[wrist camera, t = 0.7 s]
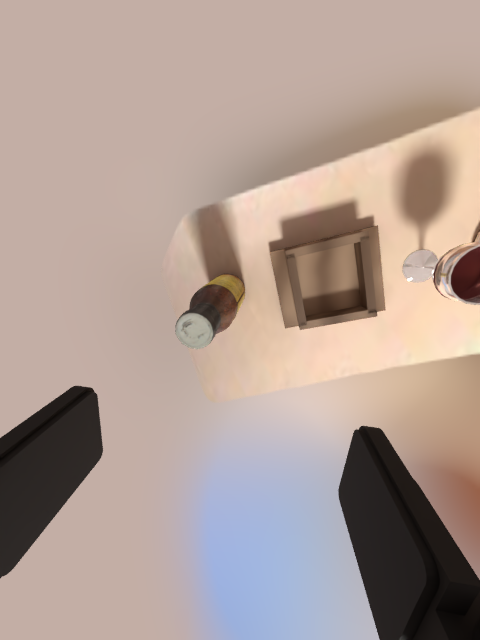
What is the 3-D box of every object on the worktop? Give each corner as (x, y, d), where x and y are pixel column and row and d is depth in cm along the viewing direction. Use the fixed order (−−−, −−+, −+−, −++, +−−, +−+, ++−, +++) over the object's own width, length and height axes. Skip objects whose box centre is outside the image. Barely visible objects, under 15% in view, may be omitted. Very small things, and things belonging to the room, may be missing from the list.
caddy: (373, 226, 37) (386, 223, 32) (381, 307, 40) (394, 315, 36) (270, 252, 40) (269, 252, 36) (284, 325, 43) (285, 334, 39)
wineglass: (453, 270, 37) (532, 280, 25) (410, 296, 39) (465, 317, 27) (431, 233, 36) (503, 227, 24) (387, 262, 38) (435, 269, 26)
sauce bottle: (209, 275, 42) (156, 297, 24) (244, 271, 41) (218, 292, 23) (214, 310, 44) (168, 358, 25) (248, 308, 43) (226, 356, 24)
